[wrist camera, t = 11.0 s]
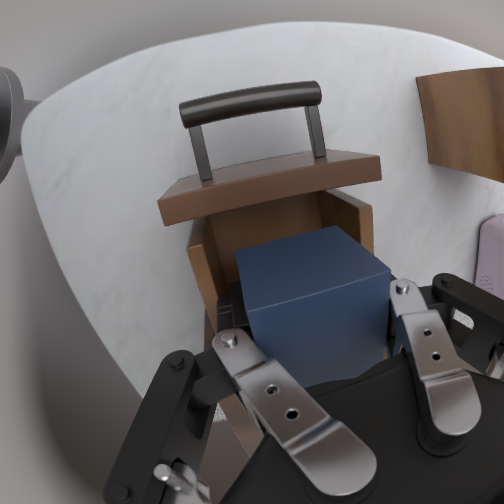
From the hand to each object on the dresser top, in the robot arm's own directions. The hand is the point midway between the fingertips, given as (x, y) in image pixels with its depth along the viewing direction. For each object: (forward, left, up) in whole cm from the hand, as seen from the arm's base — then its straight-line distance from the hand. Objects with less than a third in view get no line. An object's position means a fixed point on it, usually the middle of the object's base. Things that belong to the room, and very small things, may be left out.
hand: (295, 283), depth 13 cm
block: (0, 0, 0) cm, 0 cm away
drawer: (-1, +1, -7) cm, 7 cm away
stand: (+12, +17, -8) cm, 22 cm away
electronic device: (+27, +8, -8) cm, 29 cm away
